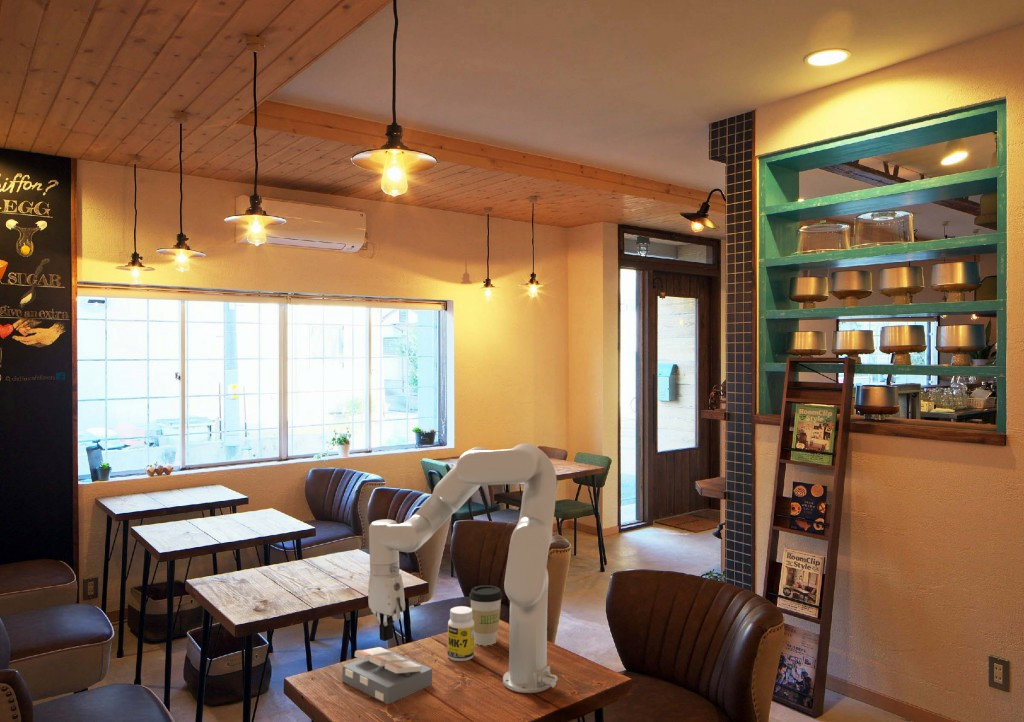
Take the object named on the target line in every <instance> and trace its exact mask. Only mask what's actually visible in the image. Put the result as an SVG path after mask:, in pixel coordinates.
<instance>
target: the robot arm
mask: <svg viewBox="0 0 1024 722" xmlns="http://www.w3.org/2000/svg"><path fill="white" fill-rule="evenodd" d="M557 482H558V481H557V473H556V469H555V467H554V463H553V462H552V460H551V459H550V457H548V455H547V454H546V453H545V452H544V451H543V450H542V449H540V448H539V447H537V446H536V445H534V444H531V443H520V444H517V445H515V446H514V447H513V448H508V449H507V448H505V449H495V450H493V449H492V450H489V449H488V448H486V447H483V446H475V447H472V448H470V449H468V450H466V451H465V452H463V453H462V454H461V455H460V456H459V458H458V459H457V462H456V464H454V465H453V467H452V468H451V469H450V470H449V471H448V472H447V473H446V474H445V475H444V476H443V477H442V478H441V480H439V481H438V482H437V484H436V485H435V486H434V488H433V491H432V492H431V493H432V494H431V495H430V496H429V498H428V499H427V500H426V501H425V502H424V503H423V504H422V505H421V506H420V508H419V509H418V510H417V511H416V512H415V513H414V514H413V515H412V516H411V517H410V518H408V519H407V520H405V521H404V522H402V523H398V522H397V521H396V520H393V519H389V518H387V519H385V518H384V519H377V520H374V521H372V522H371V523H370V524H369V526H368V542H369V545H368V546H369V576H368V577H369V578H368V588H367V589H368V590H367V591H368V592H367V595H368V597H367V599H368V600H367V601H368V607H369V609H370V611H371V613H372V614H374V615H375V616H376V619H377V624H378V627H379V628H378V629H379V640H380V641H383V642H386V641H390V640H391V639H393V638H394V623H395V622H396V621H399V620H401V618H402V617H401V613H402V612H406V611H405V610H406V601H405V596H406V595H405V590H404V582H403V578H402V574H401V573H400V552H403V553H413V552H416V551H418V550H419V549H420V548H421V547H422V546H423V545H424V544H425V543H426V542H428V541H429V540H430V539H431V538H432V536H434V535H435V533H436V532H437V531H438V530H439V529H440V528H441V527H442V526H443V525H444V524H445V523H446V522H447V520H449V519H450V518H451V516H452V515H453V514H455V513H456V512H458V511H459V510H460V508H461V507H462V506H463V505H464V504H465V503H466V502H467V501H468V500H469V499H470V498H471V497H472V496H473V494H474V493H475V492H476V491H478V490H479V488H480V487H481V486H493V485H494V486H497V485H499V486H500V485H514V484H515V485H516V484H523V491H522V496H521V505H520V513H519V518H518V522H517V524H516V526H515V528H514V529H513V531H512V534H511V536H510V541H509V546H508V554H507V562H506V567H505V568H506V569H505V575H504V583H503V584H504V586H503V587H504V593H505V595H506V596H507V597H506V598H508V600H509V620H508V621H509V626H508V627H509V633H508V634H509V635H508V636H509V637H508V638H509V639H508V640H509V641H508V643H509V644H508V650H509V651H508V652H509V653H508V655H509V656H508V671H507V672H505V673H504V674H503V675H502V684H503V685H504V687H505V688H507V689H509V690H511V691H513V692H517V693H521V694H522V693H524V694H535V693H540V692H544V691H546V690H548V689H550V688H555V687H556V685H557V681H558V680H559V677H558V675H557V674H552V673H551V666H550V665H547V664H548V661H547V660H548V659H547V658H548V652H547V651H548V630H547V629H548V600H549V599H548V597H549V596H548V595H549V594H548V593H549V592H548V591H549V572H548V568H547V567H548V566H547V565H548V559H549V558H548V557H549V551H550V547H551V545H552V544H551V543H552V540H553V525H554V517H555V510H556V499H557V491H558V490H557V489H558V488H557V487H558V486H557V485H558V483H557Z"/></svg>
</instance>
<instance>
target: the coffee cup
mask: <svg viewBox="0 0 1024 722" xmlns="http://www.w3.org/2000/svg"><path fill="white" fill-rule="evenodd" d="M468 598H469V600H470V608H471V609H472V615H473V616H472V619H473V621H474V644H475V645H477V644H478V645H477V646H480V645H483V646H482V647H488V646H487V645H491V646H493V645H492V644H494V643H495V644H496V643H497V640H498V639H497V638H498V630H499V625H500V624H499V623H500V617H501V609H502V608H501V602H502V599H503V598H504V597H503V593H502V591H501V589H500V587H498V586H496V585H487V584H486V585H477V586H474V587H472V588H471V590H470V592H469V594H468ZM495 644H494V645H495Z"/></svg>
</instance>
